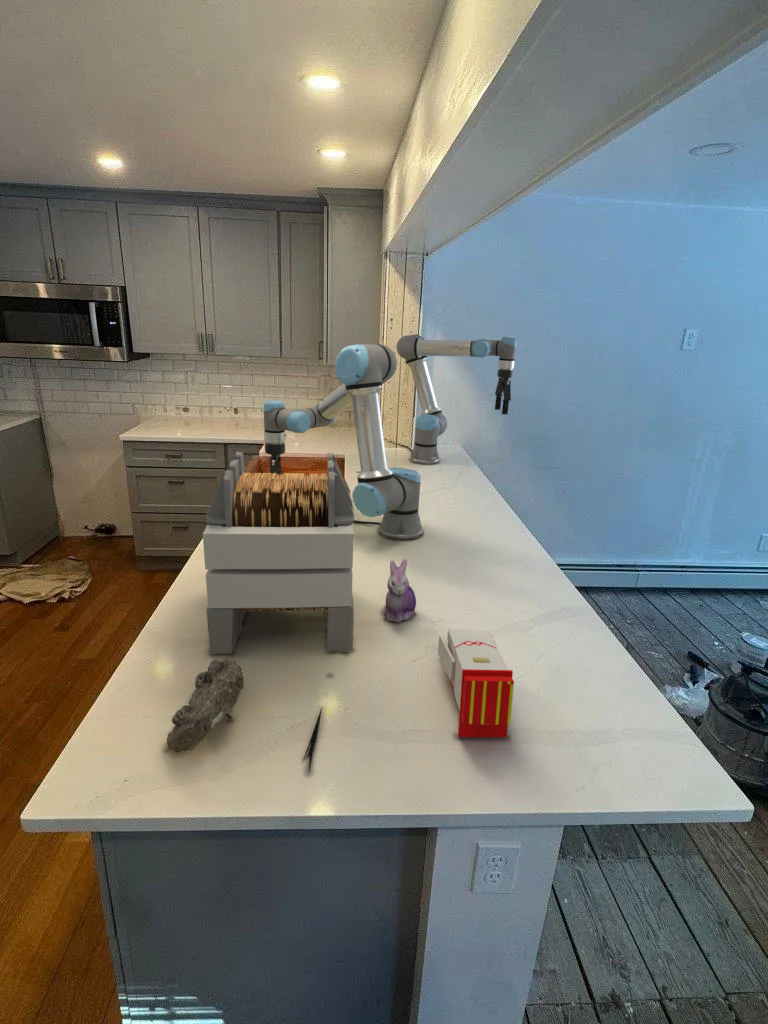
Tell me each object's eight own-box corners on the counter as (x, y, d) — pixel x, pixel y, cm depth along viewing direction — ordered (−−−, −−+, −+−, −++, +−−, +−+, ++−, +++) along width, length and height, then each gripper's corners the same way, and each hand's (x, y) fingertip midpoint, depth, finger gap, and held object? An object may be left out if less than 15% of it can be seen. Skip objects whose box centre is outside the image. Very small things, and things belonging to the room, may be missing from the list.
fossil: (192, 660, 117) (244, 628, 112) (224, 691, 120) (276, 661, 115) (142, 746, 98) (202, 712, 93) (182, 779, 101) (242, 748, 96)
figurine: (392, 627, 141) (395, 572, 136) (374, 608, 149) (376, 556, 144) (425, 619, 145) (429, 566, 140) (405, 601, 154) (408, 550, 149)
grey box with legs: (229, 585, 158) (221, 442, 144) (346, 584, 161) (350, 444, 148) (206, 656, 126) (193, 481, 112) (353, 652, 130) (358, 483, 116)
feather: (331, 679, 122) (336, 673, 122) (307, 777, 96) (313, 769, 95) (324, 675, 122) (329, 669, 121) (298, 772, 95) (304, 764, 95)
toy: (488, 613, 130) (523, 677, 101) (484, 667, 133) (517, 744, 104) (435, 612, 130) (455, 676, 101) (432, 666, 133) (451, 743, 103)
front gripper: (281, 450, 201) (283, 507, 208) (287, 435, 224) (288, 488, 231) (260, 450, 201) (262, 507, 208) (268, 435, 223) (269, 487, 230)
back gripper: (520, 372, 270) (515, 416, 277) (506, 366, 294) (501, 407, 301) (505, 371, 270) (500, 416, 277) (492, 366, 293) (487, 407, 300)
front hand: (276, 497), depth 219 cm, fingers open, 12 cm apart
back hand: (500, 411), depth 289 cm, fingers open, 13 cm apart
